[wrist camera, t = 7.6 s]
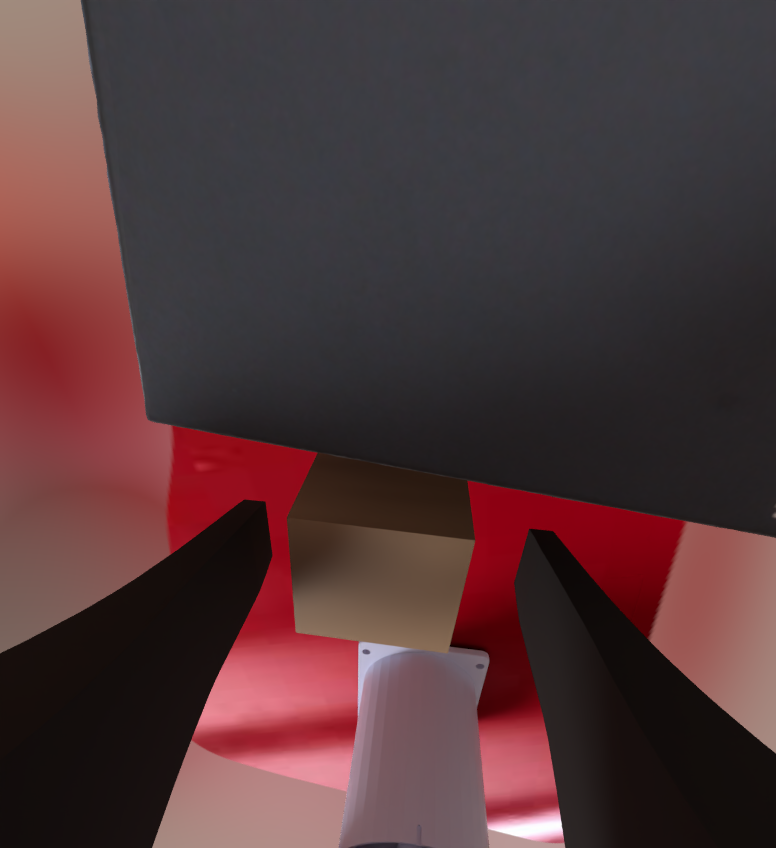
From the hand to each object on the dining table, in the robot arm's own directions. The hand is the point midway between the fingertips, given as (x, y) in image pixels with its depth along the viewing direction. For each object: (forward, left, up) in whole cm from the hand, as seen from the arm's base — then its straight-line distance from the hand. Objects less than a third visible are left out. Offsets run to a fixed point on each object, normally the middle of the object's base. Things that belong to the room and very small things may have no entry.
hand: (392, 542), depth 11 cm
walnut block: (0, 0, -3) cm, 3 cm away
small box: (+7, -2, -8) cm, 11 cm away
